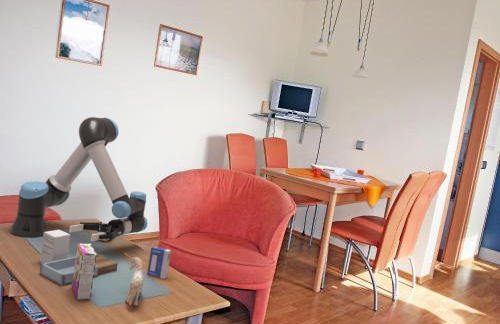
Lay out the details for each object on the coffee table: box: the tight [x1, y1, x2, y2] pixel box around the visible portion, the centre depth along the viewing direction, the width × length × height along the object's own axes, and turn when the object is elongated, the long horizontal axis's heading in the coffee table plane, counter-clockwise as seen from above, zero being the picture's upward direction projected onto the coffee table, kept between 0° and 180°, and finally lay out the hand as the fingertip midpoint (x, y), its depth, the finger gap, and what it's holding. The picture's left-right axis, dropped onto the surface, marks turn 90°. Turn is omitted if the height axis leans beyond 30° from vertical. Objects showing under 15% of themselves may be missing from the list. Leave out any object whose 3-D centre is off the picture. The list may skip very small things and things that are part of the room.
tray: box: [39, 256, 99, 286], centre depth 172 cm, size 13×16×4 cm
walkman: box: [146, 245, 172, 280], centre depth 187 cm, size 8×3×12 cm, turn 78°
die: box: [95, 222, 110, 242], centre depth 220 cm, size 8×9×10 cm
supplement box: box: [39, 229, 71, 264], centre depth 180 cm, size 7×7×13 cm
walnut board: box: [95, 254, 119, 277], centre depth 184 cm, size 12×10×3 cm
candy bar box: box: [71, 242, 98, 301], centre depth 159 cm, size 11×5×16 cm, turn 30°
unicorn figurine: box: [124, 252, 145, 307], centre depth 162 cm, size 7×20×13 cm, turn 24°
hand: (80, 233), depth 189 cm, fingers open, 13 cm apart
